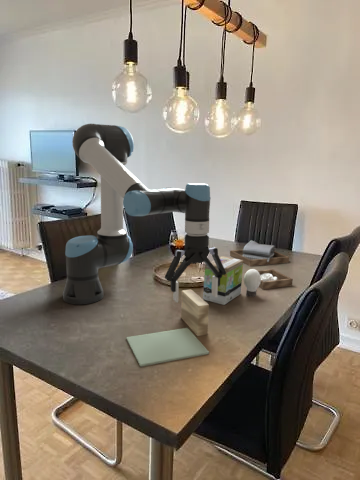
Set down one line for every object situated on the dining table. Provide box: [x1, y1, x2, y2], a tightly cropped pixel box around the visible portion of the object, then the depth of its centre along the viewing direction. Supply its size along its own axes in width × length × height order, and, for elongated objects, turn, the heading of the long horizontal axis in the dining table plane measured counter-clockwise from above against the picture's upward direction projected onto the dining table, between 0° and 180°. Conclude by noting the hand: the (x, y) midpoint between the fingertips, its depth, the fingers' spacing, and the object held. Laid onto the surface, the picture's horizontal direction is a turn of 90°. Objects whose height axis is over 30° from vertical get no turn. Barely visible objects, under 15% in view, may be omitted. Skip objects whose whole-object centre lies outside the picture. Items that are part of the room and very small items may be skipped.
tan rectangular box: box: [180, 289, 210, 337], centre depth 122 cm, size 4×14×10 cm, turn 21°
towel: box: [242, 239, 276, 262], centre depth 204 cm, size 15×18×8 cm
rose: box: [261, 273, 278, 281], centre depth 166 cm, size 10×4×10 cm
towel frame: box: [229, 249, 290, 267], centre depth 204 cm, size 24×21×3 cm
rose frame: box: [244, 268, 293, 290], centre depth 167 cm, size 15×15×3 cm
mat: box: [125, 327, 210, 367], centre depth 109 cm, size 20×16×1 cm
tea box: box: [202, 255, 244, 306], centre depth 147 cm, size 15×10×15 cm
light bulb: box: [243, 268, 261, 298], centre depth 150 cm, size 7×7×11 cm
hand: (195, 298), depth 121 cm, fingers open, 13 cm apart
